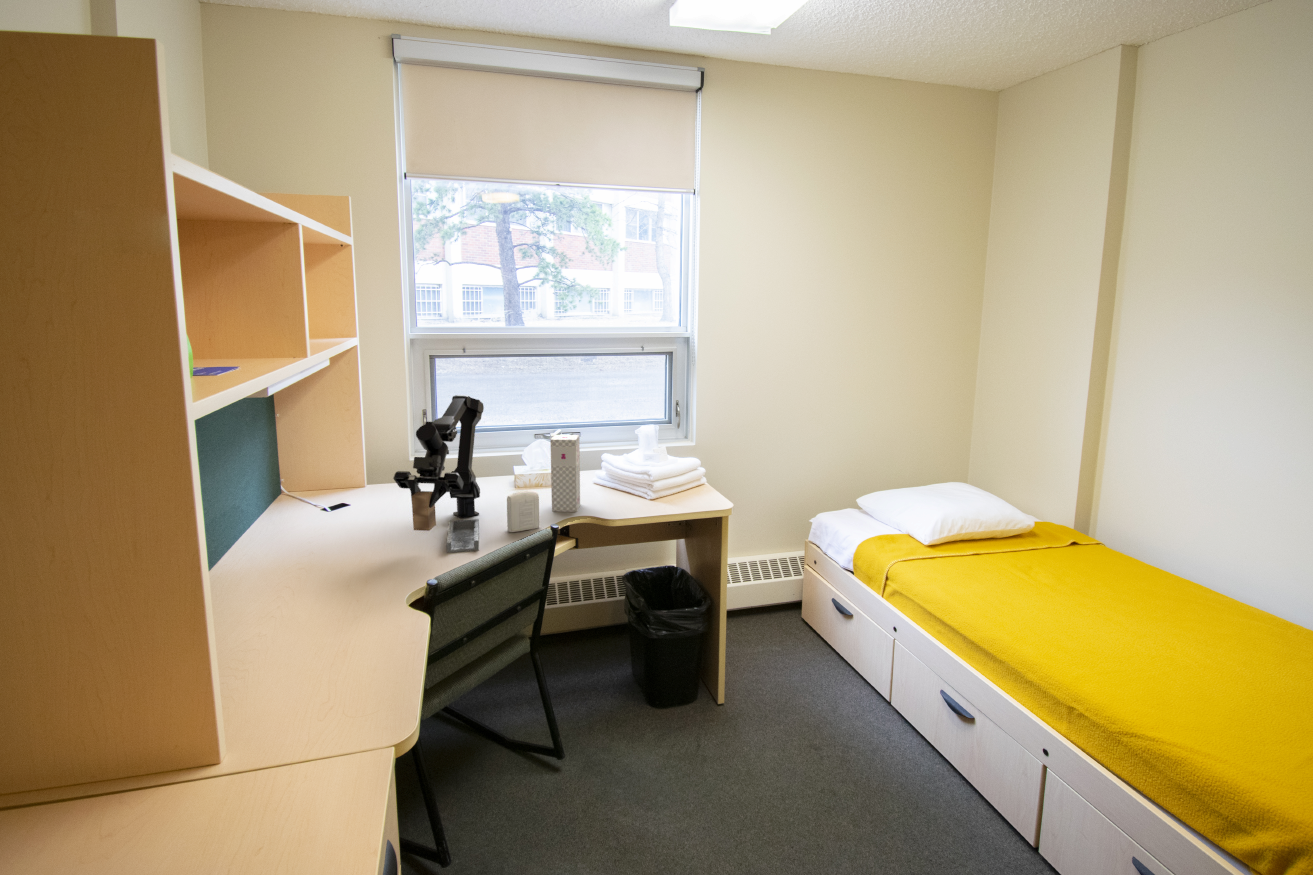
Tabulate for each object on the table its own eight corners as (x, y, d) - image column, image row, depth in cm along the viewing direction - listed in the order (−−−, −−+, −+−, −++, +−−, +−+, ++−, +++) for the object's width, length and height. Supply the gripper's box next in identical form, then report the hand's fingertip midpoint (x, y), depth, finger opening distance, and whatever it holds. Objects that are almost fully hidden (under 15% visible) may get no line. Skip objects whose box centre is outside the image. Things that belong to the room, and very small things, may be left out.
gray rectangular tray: (450, 530, 213) (450, 520, 212) (479, 528, 215) (478, 519, 215) (447, 552, 194) (446, 542, 193) (478, 550, 196) (478, 540, 196)
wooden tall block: (436, 524, 197) (434, 491, 195) (429, 530, 192) (427, 496, 190) (420, 524, 197) (418, 491, 195) (413, 530, 192) (411, 496, 190)
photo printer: (536, 524, 219) (535, 487, 217) (541, 528, 216) (540, 490, 213) (505, 530, 214) (504, 492, 211) (510, 534, 210) (509, 495, 208)
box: (576, 511, 233) (575, 439, 228) (551, 511, 233) (550, 439, 228) (580, 504, 241) (579, 435, 236) (556, 503, 241) (555, 434, 236)
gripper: (393, 443, 194) (378, 491, 186) (458, 445, 193) (445, 493, 184) (407, 464, 204) (393, 510, 195) (468, 465, 202) (457, 512, 194)
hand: (421, 506), depth 192 cm, fingers closed on wooden tall block, 4 cm apart
